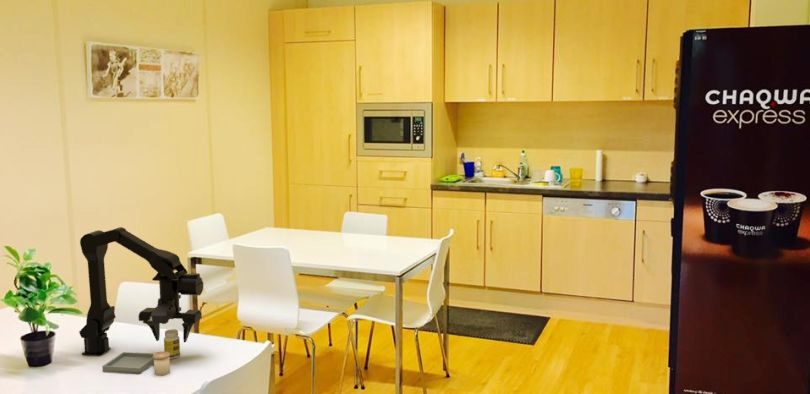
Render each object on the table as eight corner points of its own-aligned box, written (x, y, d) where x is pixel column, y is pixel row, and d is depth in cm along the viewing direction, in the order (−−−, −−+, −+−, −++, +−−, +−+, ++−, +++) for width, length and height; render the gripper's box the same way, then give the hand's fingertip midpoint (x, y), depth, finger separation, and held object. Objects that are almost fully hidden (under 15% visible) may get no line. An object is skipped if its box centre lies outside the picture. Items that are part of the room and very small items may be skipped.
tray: (102, 371, 213) (102, 366, 213) (123, 357, 225) (123, 351, 224) (140, 374, 211) (139, 368, 211) (159, 359, 223) (158, 353, 223)
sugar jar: (150, 375, 211) (149, 356, 210) (158, 369, 215) (157, 351, 214) (166, 376, 210) (165, 357, 209) (173, 370, 215) (172, 351, 214)
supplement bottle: (175, 359, 223) (174, 334, 222) (161, 358, 224) (160, 333, 223) (182, 354, 228) (181, 329, 226) (169, 353, 229) (168, 328, 227)
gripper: (128, 299, 216) (130, 348, 218) (186, 302, 214) (188, 351, 216) (146, 290, 227) (148, 336, 229) (201, 292, 225) (203, 339, 227)
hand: (171, 341), depth 225 cm, fingers open, 9 cm apart
